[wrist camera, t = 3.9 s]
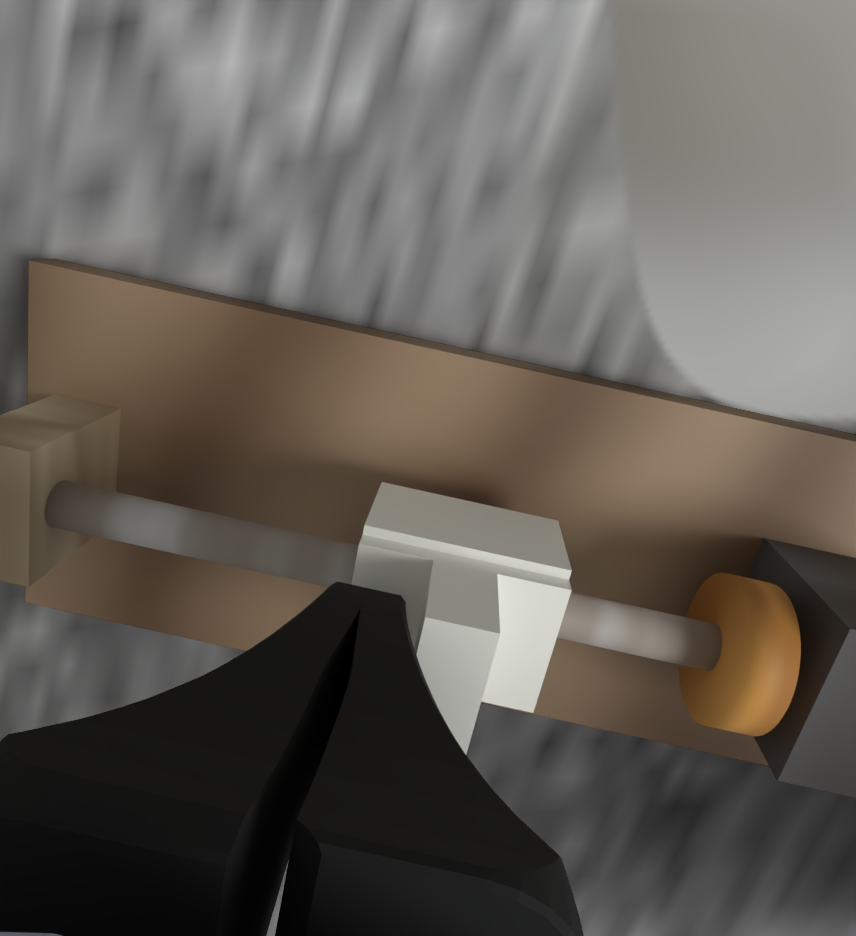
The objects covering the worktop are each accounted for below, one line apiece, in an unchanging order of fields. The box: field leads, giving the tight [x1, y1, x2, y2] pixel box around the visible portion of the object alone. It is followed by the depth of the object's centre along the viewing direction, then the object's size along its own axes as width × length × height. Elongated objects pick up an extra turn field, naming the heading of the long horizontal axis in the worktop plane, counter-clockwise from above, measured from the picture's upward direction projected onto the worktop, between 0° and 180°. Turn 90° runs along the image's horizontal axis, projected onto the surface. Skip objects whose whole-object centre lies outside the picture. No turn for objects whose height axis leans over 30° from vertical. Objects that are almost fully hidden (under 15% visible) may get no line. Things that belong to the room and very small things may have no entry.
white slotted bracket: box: [351, 482, 572, 754], centre depth 13 cm, size 4×3×5 cm
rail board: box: [0, 259, 856, 798], centre depth 15 cm, size 24×9×5 cm, turn 79°
